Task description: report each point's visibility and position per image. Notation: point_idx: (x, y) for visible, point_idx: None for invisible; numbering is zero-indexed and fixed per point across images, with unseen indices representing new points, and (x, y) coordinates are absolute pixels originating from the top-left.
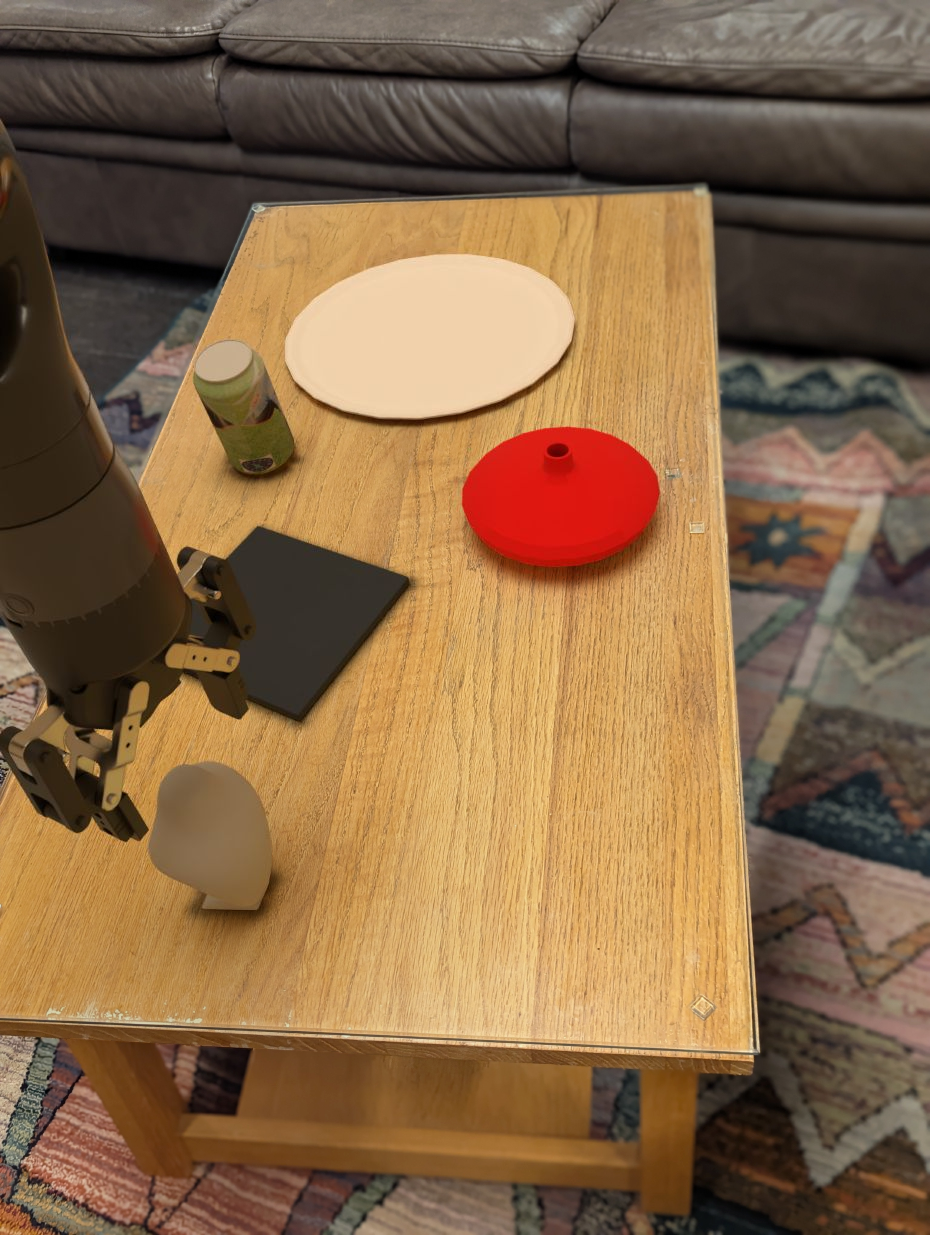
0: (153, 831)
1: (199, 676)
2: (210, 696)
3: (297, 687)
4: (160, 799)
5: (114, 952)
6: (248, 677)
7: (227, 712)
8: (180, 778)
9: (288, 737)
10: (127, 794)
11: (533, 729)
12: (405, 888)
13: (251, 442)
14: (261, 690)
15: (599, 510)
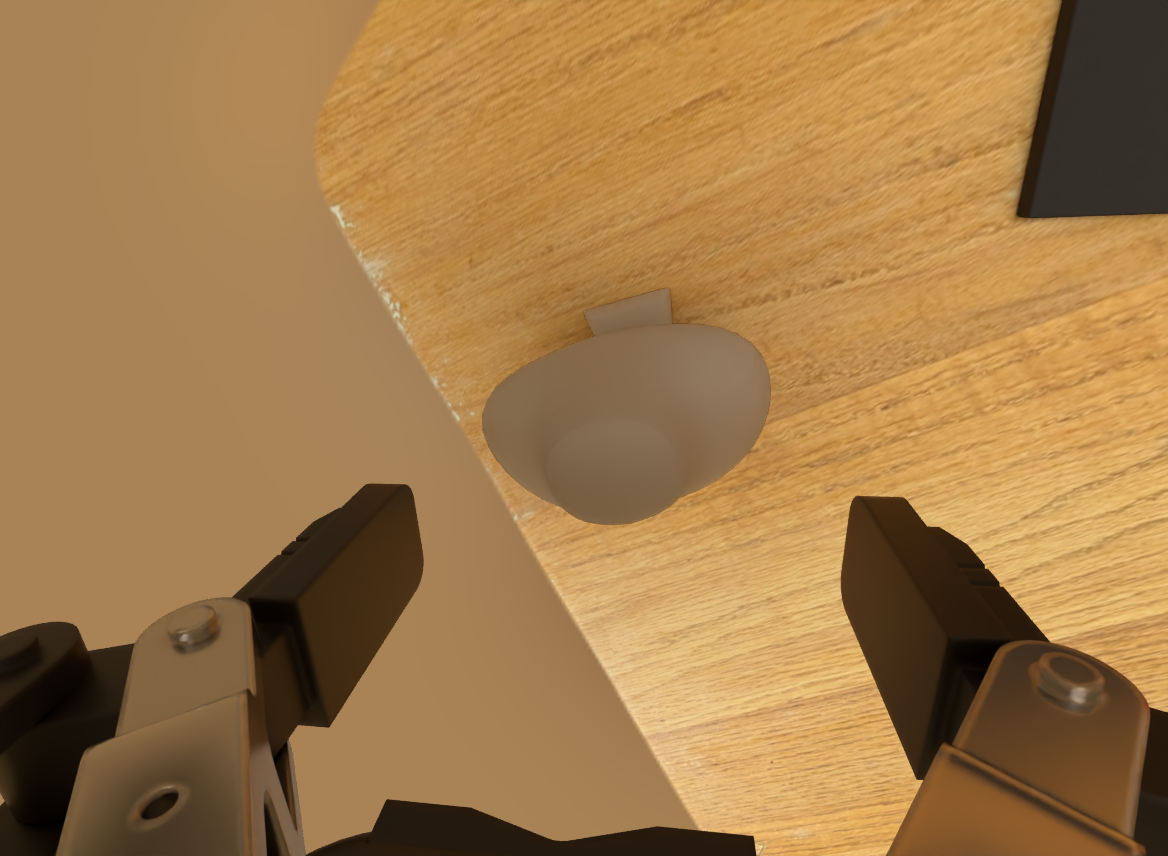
0: (518, 403)
1: (919, 601)
2: (874, 543)
3: (1113, 164)
4: (549, 453)
5: (454, 231)
6: (1122, 15)
7: (849, 554)
8: (620, 473)
9: (968, 218)
10: (329, 726)
11: (1102, 601)
12: (751, 555)
13: None
14: (1084, 82)
15: None
